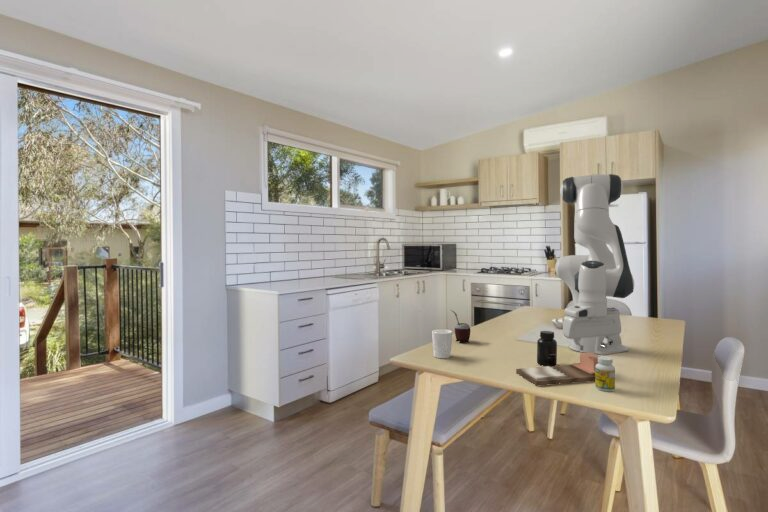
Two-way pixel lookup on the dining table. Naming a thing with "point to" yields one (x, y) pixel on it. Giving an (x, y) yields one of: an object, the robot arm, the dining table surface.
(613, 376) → the supplement bottle
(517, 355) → the dining table surface
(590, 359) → the stub
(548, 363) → the supplement bottle
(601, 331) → the robot arm
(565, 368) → the ticket board
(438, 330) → the white cup
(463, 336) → the mate gourd
